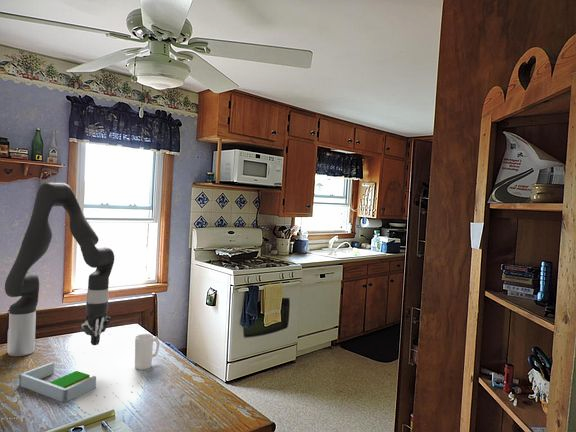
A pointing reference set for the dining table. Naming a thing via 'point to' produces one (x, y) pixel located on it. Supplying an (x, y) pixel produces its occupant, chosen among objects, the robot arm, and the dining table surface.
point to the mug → (145, 350)
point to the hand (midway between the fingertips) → (94, 344)
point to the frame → (56, 392)
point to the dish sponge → (70, 379)
